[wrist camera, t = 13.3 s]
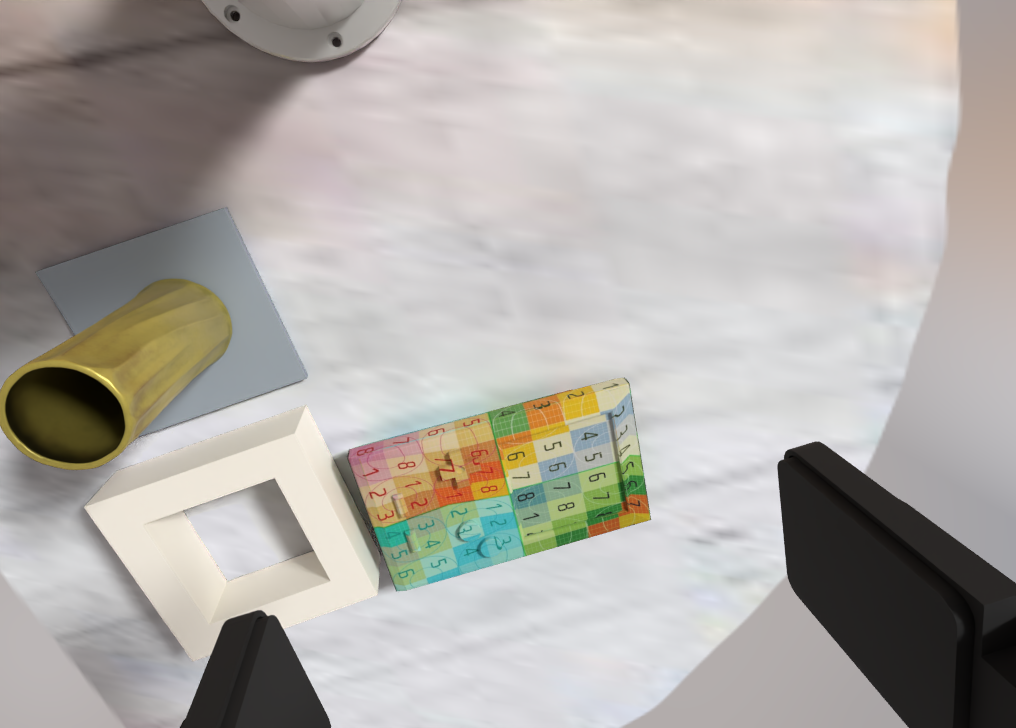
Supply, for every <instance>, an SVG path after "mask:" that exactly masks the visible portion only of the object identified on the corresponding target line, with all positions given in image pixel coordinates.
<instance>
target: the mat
mask: <svg viewBox="0 0 1016 728" xmlns="http://www.w3.org/2000/svg"><path fill="white" fill-rule="evenodd" d="M36 274H37V276H38V277H39V279H40V280H41V282H42V284H43V285H44V287H45V288H46V290H47V292H48V293H49V295H50V296H51V298H52V300H53V301H54V303H55V304H56V306H57V308H58V309H59V311H60V312H61V314H62V315H63V317H64V319H65V320H66V322H67V323H68V325H69V327H70V328H71V330H72V331H73V333H74V335H77V334H78V333H80V332H82V331H83V330H85V329H87V328H88V327H90V326H92V325H93V324H95V323H97V322H98V321H100V320H101V319H103V318H104V317H106V316H107V315H109V314H110V313H112V312H114V311H115V310H117V309H118V308H120V307H122V306H123V305H125V304H126V303H128V302H129V301H131V300H132V299H133V298H134V297H136V295H137V294H138V293H139V292H140V291H141V290H143V289H144V288H145V287H146V286H148V285H149V284H151V283H153V282H156V281H159V280H163V279H186V280H189V281H192V282H195V283H197V284H200V285H202V286H204V287H206V288H207V289H209V290H211V291H212V292H213V293H214V294H215V295H216V296H218V298H219V299H220V300H221V301H222V302H223V304H224V305H225V307H226V308H227V310H228V312H229V315H230V318H231V322H232V337H231V340H230V343H229V345H228V348H227V350H226V352H225V353H224V354H223V356H222V357H221V358H219V359H218V360H217V361H216V362H214V363H213V364H211V365H209V366H208V367H207V368H206V369H204V370H203V371H202V372H201V373H200V374H198V375H197V376H196V377H195V378H194V379H193V380H192V381H191V382H190V383H189V384H188V385H187V386H186V387H185V388H184V389H183V390H182V391H181V392H180V393H179V394H178V395H177V396H176V397H175V398H174V399H173V400H172V401H171V402H170V403H169V404H168V405H167V406H166V407H165V408H164V409H163V410H162V411H161V412H160V414H159V415H158V416H157V417H156V418H155V419H154V420H153V421H152V422H151V423H150V424H149V425H148V426H147V427H146V429H145V430H144V431H143V432H142V433H141V434H140V435H139V437H140V436H143V435H146V434H149V433H151V432H154V431H157V430H160V429H163V428H166V427H169V426H172V425H174V424H177V423H180V422H183V421H186V420H189V419H192V418H195V417H197V416H200V415H203V414H206V413H209V412H212V411H215V410H218V409H220V408H223V407H226V406H229V405H232V404H235V403H238V402H241V401H243V400H246V399H249V398H252V397H255V396H258V395H261V394H264V393H266V392H269V391H272V390H275V389H278V388H281V387H284V386H287V385H289V384H292V383H295V382H298V381H301V380H304V379H307V376H308V375H307V372H306V370H305V368H304V366H303V364H302V362H301V360H300V358H299V356H298V354H297V352H296V350H295V348H294V346H293V343H292V341H291V339H290V337H289V335H288V333H287V331H286V329H285V327H284V325H283V323H282V321H281V319H280V316H279V314H278V312H277V310H276V308H275V306H274V304H273V302H272V300H271V298H270V296H269V294H268V292H267V290H266V287H265V285H264V283H263V281H262V279H261V277H260V275H259V273H258V271H257V269H256V267H255V265H254V263H253V260H252V258H251V256H250V254H249V252H248V250H247V248H246V246H245V244H244V242H243V240H242V238H241V236H240V234H239V231H238V229H237V227H236V225H235V223H234V221H233V219H232V217H231V215H230V213H229V211H228V209H227V207H225V208H222V209H219V210H216V211H214V212H211V213H208V214H205V215H202V216H199V217H196V218H193V219H190V220H187V221H184V222H181V223H178V224H175V225H172V226H169V227H166V228H163V229H160V230H158V231H155V232H152V233H149V234H146V235H143V236H140V237H137V238H134V239H131V240H128V241H125V242H122V243H119V244H116V245H113V246H110V247H107V248H104V249H101V250H99V251H96V252H93V253H90V254H87V255H84V256H81V257H78V258H75V259H72V260H69V261H66V262H63V263H60V264H57V265H54V266H51V267H48V268H45V269H42V270H40V271H37V272H36Z"/></svg>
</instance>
